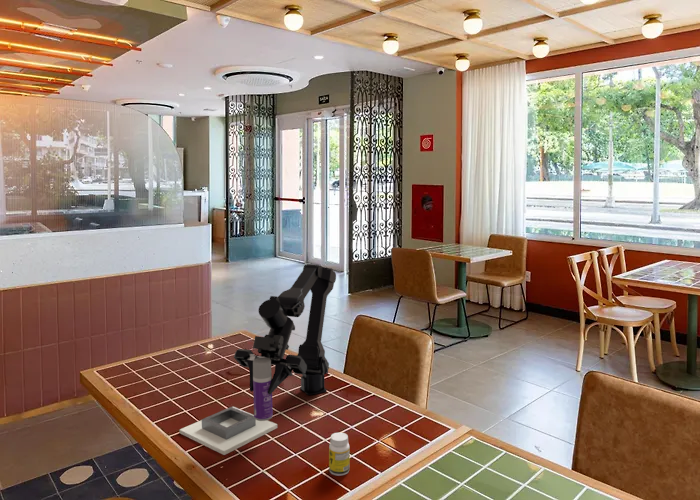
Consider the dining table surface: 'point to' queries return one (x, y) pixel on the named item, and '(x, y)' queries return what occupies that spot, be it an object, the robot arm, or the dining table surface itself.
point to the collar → (227, 432)
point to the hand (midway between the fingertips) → (260, 392)
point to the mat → (232, 443)
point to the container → (262, 389)
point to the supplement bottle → (339, 454)
